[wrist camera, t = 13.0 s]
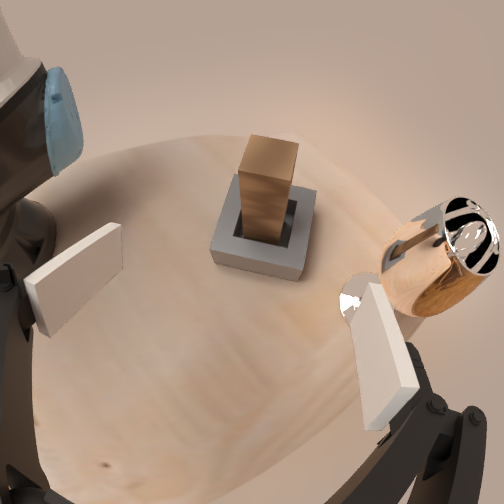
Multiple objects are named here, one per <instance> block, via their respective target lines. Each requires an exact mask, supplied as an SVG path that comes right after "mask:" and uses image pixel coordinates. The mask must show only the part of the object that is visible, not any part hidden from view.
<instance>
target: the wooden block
mask: <svg viewBox="0 0 504 504" xmlns="http://www.w3.org/2000/svg"><path fill="white" fill-rule="evenodd" d="M298 145H299V144H298V143H294V142H289V141H284V140H279V139H274V138H268V137H263V136H257V135H251V136H250V139H249V142H248V145H247V147H246V150H245V153H244V155H243V158H242V161H241V164H240V166H239V169H238V176H239V188H240V200H241V211H242V223H243V235H244V239H248V240H252V241H257V242H261V243H266V244H270V245H275V246H278V245H279V241H280V237H281V232H282V228H283V224H284V219H285V214H286V209H287V204H288V198H289V193H290V188H291V183H292V177H293V172H294V167H295V161H296V156H297V150H298Z"/></svg>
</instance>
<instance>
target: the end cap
mask: <svg viewBox="0 0 504 504" xmlns="http://www.w3.org/2000/svg"><path fill="white" fill-rule="evenodd" d="M316 192H317V191H315V190H311V189H307V188H302V187H298V186H293V185H291V188H290V193H289V198H288V204H287V209H286V214H285V219H284V224H283V228H282V232H281V237H280V241H279V245H278V246H275V245H270V244H266V243H261V242H257V241H252V240H248V239H244V235H243V223H242V211H241V200H240V188H239V176H238V175H237V174H234V177H233V179H232V182H231V185H230V188H229V191H228V194H227V197H226V200H225V203H224V206H223V209H222V212H221V215H220V218H219V221H218V224H217V227H216V230H215V233H214V236H213V239H212V242H211V246H210V252H211V254H212V257H213V260H214V262H215V263H217V264H221V265H225V266H229V267H234V268H238V269H242V270H247V271H251V272H255V273H260V274H264V275H268V276H273V277H277V278H282V279H286V280H291V281H295V282H297V281H298V279H299V277H300V275H301V273H302V271H303V268H304V263H305V257H306V252H307V246H308V241H309V235H310V229H311V223H312V217H313V211H314V205H315V198H316Z"/></svg>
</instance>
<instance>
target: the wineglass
mask: <svg viewBox="0 0 504 504" xmlns="http://www.w3.org/2000/svg"><path fill="white" fill-rule="evenodd" d="M500 250H501V249H500V241H499V236H498V233H497V230H496V227H495V225H494V223H493V221H492V219H491V218H490V217H489V215H488V213H487V212H486V211H485V210H484V208H483V207H482V206H480V205H479V204H478V203H477V202H475V201H474V200H472V199H470V198H468V197H465V196H455V197H452V198H450V199H449V200H447V201H445V202H443V203H441V204H439V205H437V206H435V207H433V208H431V209H429V210H427V211H426V212H424V213H422V214H421V215H419V216H417V217H416V218H414V219H412V220H411V221H409V222H408V223H406V224H405V225H403V226H402V227H401V228H400V229H398V230H397V231H396V232H395V233H394V234H393V235H392V236H391V237H390V239H389V240H388V241H387V243H386V244H385V246H384V248H383V249H382V252H381V255H380V259H379V264H378V275H376V274H373V273H368V272H364V273H359V274H356V275H354V276H352V277H351V278H349V279H348V280H347V281H346V282H345V284H344V285H343V287H342V290H341V292H340V297H339V306H340V311H341V314H342V316H343V318H344V320H345V321H346V322H347V324H348V325H349V326H350V324H351V322H352V319H353V317H354V315H355V313H356V310H357V308H358V306H359V304H360V301H361V299H362V297H363V294H364V292H365V290H366V287H367V285H368V282H370V283H375V284H379V285H382V286H383V289H384V291H385V293H386V296H387V298H388V300H389V303H390V305H391V308H392V310H393V313H394V310H395V309H396V310H397V311H399V312H401V313H403V314H405V315H408V316H411V317H415V318H425V317H430V316H433V315H437V314H439V313H442V312H444V311H445V310H447V309H449V308H451V307H452V306H454V305H455V304H457V303H459V302H460V301H461V300H463V299H464V298H465V297H466V296H468V295H469V294H470V293H471V292H473V291H474V290H475V289H476V288H477V287H478V286H479V285H480V284H481V283H482V282H483V281H485V280H486V279H487V278H488V277H489V276H490V275H491V274H492V273H493V272H494V270H495V269H496V268H497V266H498V263H499V260H500V252H501V251H500Z"/></svg>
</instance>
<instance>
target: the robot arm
mask: <svg viewBox="0 0 504 504" xmlns="http://www.w3.org/2000/svg"><path fill="white" fill-rule="evenodd" d="M82 150H83V133H82V127H81V122H80V118H79V114H78V110H77V106H76V103H75V99H74V95H73V92H72V89H71V86H70V83H69V81H68V78H67V76H66V75H65V73H64V71H63V69H62V68H61V67H55V68H51V69H49V70H48V72H47V71H46V70H45V68H44V66H43V64H42V62H41V60H40V59H39V58H32V57H24V56H23V55H21V53H20V51H19V49H18V47H17V45H16V43H15V40H14V38H13V36H12V34H11V32H10V30H9V27H8V25H7V23H6V21H5V18H4V16H3V13H2V11H1V8H0V504H74V503H72V502H71V501H69V500H67V499H66V498H64V497H63V496H61V495H59V494H58V493H56V492H55V491H53V490H52V489H50V486H49V482H48V480H47V478H46V475H45V474H44V472H43V470H42V468H41V466H40V463H39V458H38V452H37V445H36V438H35V430H34V419H33V405H32V346H33V328H32V325H33V324H34V323H35V322H36V323H37V326H38V329H39V332H41V333H42V334H44V335H46V336H47V337H49V338H51V337H52V336H53V335H54V334H55V333H56V332H57V331H58V330H59V329H60V328H61V327H62V326H63V325H64V324H65V323H66V322H67V321H68V320H69V319H70V318H71V317H72V316H73V315H74V314H75V313H76V312H77V311H78V310H79V309H80V308H81V307H82V306H83V305H84V304H85V303H86V302H87V301H88V300H89V299H91V298H92V297H93V296H94V295H95V294H96V293H97V292H98V291H99V290H100V289H101V288H102V287H103V286H104V285H105V284H107V283H108V282H109V281H110V280H111V279H112V278H113V277H114V276H115V275H116V274H118V273H119V272H120V271H121V270H122V269H123V263H122V237H121V224H116V223H112V222H110V223H108V224H106V225H105V226H103V227H101V228H100V229H98V230H96V231H95V232H93V233H91V234H90V235H88V236H87V237H85V238H83V239H82V240H80V241H79V242H77V243H76V244H74V245H72V246H71V247H69V248H68V249H66V250H65V251H63V252H62V253H60V254H59V255H57V256H55V257H52V258H51V255H52V252H53V249H54V244H55V237H56V227H55V221H54V218H53V216H52V214H51V213H50V212H49V211H48V210H47V209H46V208H45V207H44V206H43V205H41V204H40V203H38V202H35V201H31V200H28V199H25V198H24V197H25V196H26V195H27V194H29V193H30V192H32V191H33V190H34V189H36V188H37V187H38V186H40V185H41V184H43V183H44V182H45V181H47V180H48V179H50V178H51V177H53V176H55V177H56V176H58V175H59V172H60V171H62V170H63V169H65V168H66V167H67V166H69V165H70V164H72V163H73V162H75V161H76V160H77V159H78V158H79V157H80V155H81V153H82ZM350 328H351V334H352V340H353V346H354V352H355V358H356V365H357V372H358V379H359V387H360V395H361V403H362V412H363V422H364V430H371V431H382V430H383V429H384V428H385V426H387V425H388V423H389V424H390V432H389V433H388V434H387V435H386V436H385V437H384V438H383V439H382V440H381V441H379V442H378V443H377V444H378V446H377V448H376V449H375V450H374V452H372V454H371V455H370V456H369V457H368V458H367V460H366V461H365V462H364V463H363V464H362V466H360V468H359V469H358V470H357V471H356V472H355V473H354V474H353V475H352V476H351V478H350V479H349V480H348V481H347V482H346V483H345V484H344V485H343V486H342V487H341V488H340V489H339V490H338V491H337V492H336V493H335V494H334V495H333V496H332V497H331V498H330V499H329V500H328V501H326V503H324V504H398V502H399V501H400V499H401V498H402V497H403V495H404V493H405V492H406V491H407V489H408V488H409V486H410V485H411V483H412V482H413V480H414V478H415V477H416V475H417V477H416V480H415V483H414V486H413V489H412V492H411V495H410V497H409V500H408V502H407V504H478V499H479V494H480V488H481V483H482V476H483V468H484V460H485V449H486V431H487V421H486V417H485V415H484V413H483V412H482V411H481V410H480V409H479V408H478V407H476V406H468V407H467V408H466V409H465V410H464V411H463V412H462V413H459V412H456V411H453V410H450V409H448V405H447V403H446V402H445V400H444V399H443V398H442V397H441V396H439V395H437V394H435V393H433V391H432V388H431V385H430V382H429V379H428V377H427V374H426V371H425V369H424V366H423V363H422V362H421V357H420V355H419V352H418V350H417V349H416V348H415V347H414V345H413V344H412V343H410V342H405V341H404V339H403V336H402V333H401V331H400V328H399V325H398V323H397V320H396V318H395V315H394V313H393V310H392V308H391V305H390V303H389V300H388V298H387V296H386V293H385V291H384V289H383V286H382V285H379V284H375V283H370V282H368V285H367V287H366V290H365V292H364V294H363V297H362V299H361V301H360V304H359V306H358V308H357V310H356V313H355V315H354V317H353V319H352V322H351V324H350ZM8 486H10V488H11V490H9V487H8Z"/></svg>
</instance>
